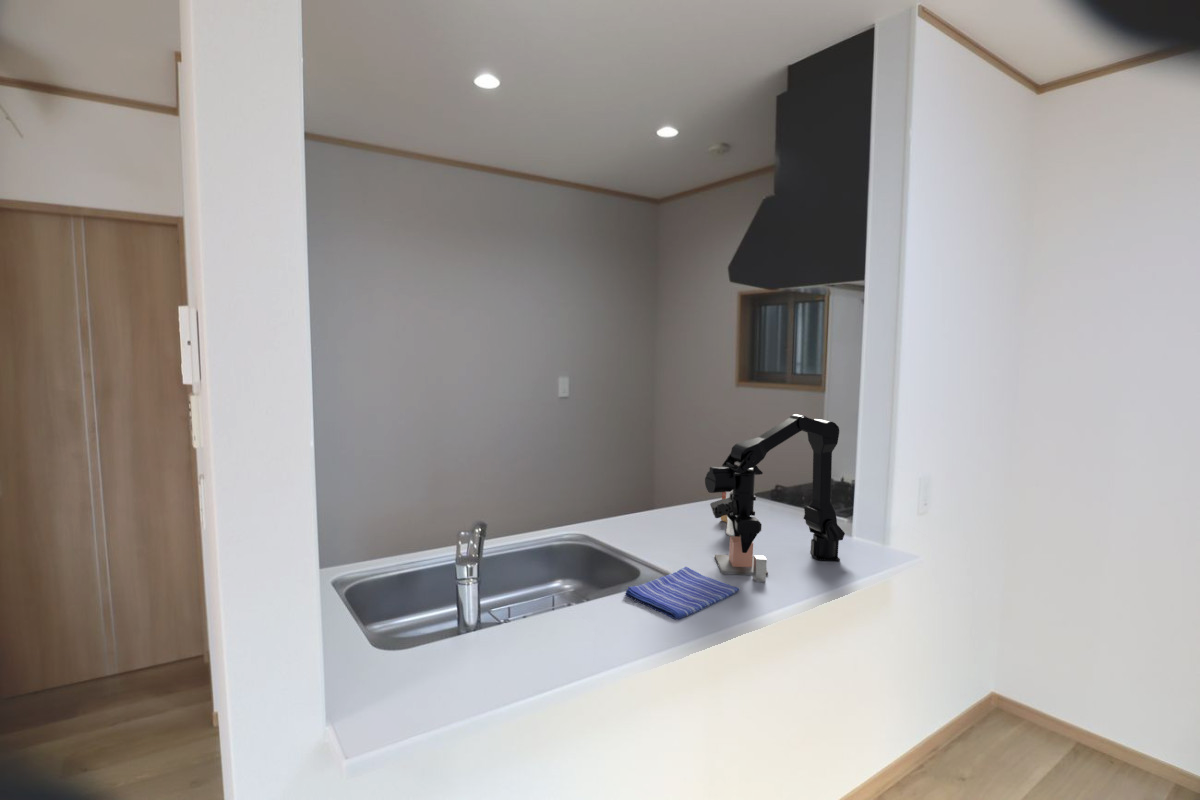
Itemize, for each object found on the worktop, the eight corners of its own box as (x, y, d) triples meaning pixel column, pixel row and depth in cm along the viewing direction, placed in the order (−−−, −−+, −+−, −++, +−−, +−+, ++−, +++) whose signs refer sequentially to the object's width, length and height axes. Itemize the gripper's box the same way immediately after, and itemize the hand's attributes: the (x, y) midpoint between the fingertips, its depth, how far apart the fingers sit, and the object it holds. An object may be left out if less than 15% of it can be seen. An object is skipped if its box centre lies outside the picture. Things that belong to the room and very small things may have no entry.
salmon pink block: (747, 559, 163) (748, 536, 162) (752, 567, 158) (753, 543, 157) (729, 559, 163) (730, 536, 162) (732, 566, 158) (733, 542, 157)
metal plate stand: (757, 558, 166) (758, 537, 166) (767, 575, 154) (769, 552, 154) (714, 557, 166) (715, 535, 166) (722, 574, 155) (723, 550, 154)
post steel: (763, 577, 153) (764, 555, 152) (765, 582, 150) (766, 559, 149) (752, 577, 153) (754, 555, 152) (755, 581, 150) (756, 559, 149)
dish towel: (622, 597, 140) (622, 586, 140) (685, 572, 156) (685, 562, 156) (677, 624, 128) (677, 612, 127) (739, 594, 144) (740, 583, 143)
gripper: (708, 481, 168) (706, 534, 169) (719, 499, 149) (716, 558, 151) (747, 482, 167) (744, 535, 169) (763, 500, 149) (760, 559, 150)
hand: (740, 546), depth 160 cm, fingers open, 9 cm apart
